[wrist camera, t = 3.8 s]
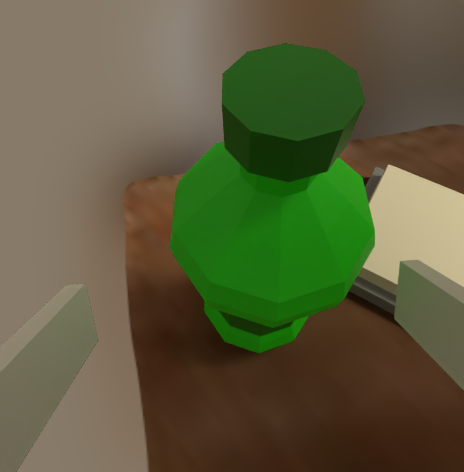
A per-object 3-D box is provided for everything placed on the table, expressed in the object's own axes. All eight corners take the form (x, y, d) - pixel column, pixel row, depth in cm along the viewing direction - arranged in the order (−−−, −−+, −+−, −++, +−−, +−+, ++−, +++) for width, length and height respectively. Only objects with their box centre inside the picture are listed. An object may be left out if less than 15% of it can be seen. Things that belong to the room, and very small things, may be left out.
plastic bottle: (247, 384, 28) (272, 340, 6) (185, 293, 32) (63, 63, 10) (328, 318, 31) (559, 114, 8) (261, 241, 35) (300, -34, 12)
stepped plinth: (500, 232, 35) (529, 213, 31) (468, 354, 29) (500, 348, 25) (369, 177, 38) (383, 154, 35) (318, 275, 33) (328, 260, 29)
